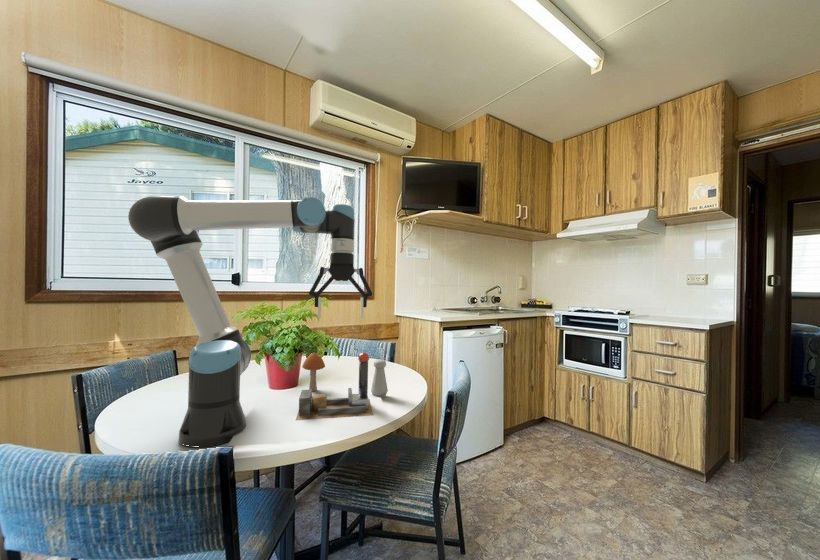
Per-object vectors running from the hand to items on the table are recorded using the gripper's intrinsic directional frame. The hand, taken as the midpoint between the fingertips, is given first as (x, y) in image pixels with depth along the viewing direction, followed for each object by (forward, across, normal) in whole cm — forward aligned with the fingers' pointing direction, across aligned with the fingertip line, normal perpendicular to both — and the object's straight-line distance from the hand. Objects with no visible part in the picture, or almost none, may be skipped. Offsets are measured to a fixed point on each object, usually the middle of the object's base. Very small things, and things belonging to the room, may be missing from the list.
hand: (340, 317), depth 111 cm
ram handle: (+27, +6, -6) cm, 28 cm away
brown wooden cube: (+28, -6, -6) cm, 29 cm away
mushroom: (+29, -9, +13) cm, 33 cm away
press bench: (+29, -1, -6) cm, 29 cm away
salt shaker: (+29, +14, +6) cm, 33 cm away
